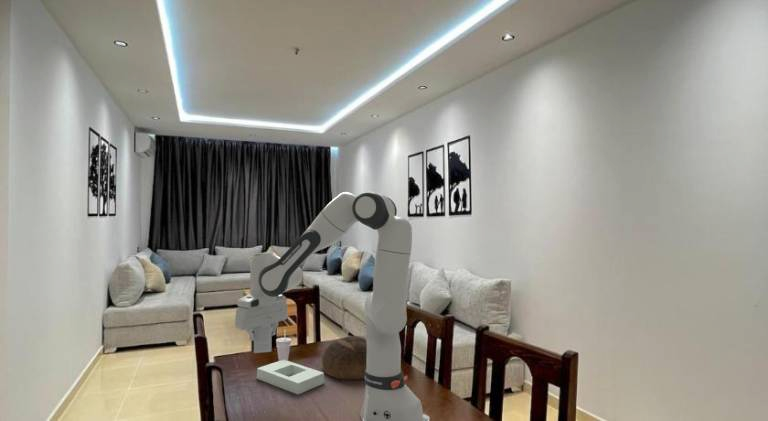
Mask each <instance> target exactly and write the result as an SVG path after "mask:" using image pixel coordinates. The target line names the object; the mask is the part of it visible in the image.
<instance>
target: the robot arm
mask: <svg viewBox="0 0 768 421" xmlns="http://www.w3.org/2000/svg"><path fill="white" fill-rule="evenodd" d="M397 212H398V210H397V206H396V203H395V202H394V201H393V200H392V199H391V198H389V197H387V196H386V195H385V194H382V193H379V192H376V191H373V190H371V191H370V190H369V191H368V190H367V191H364V192H362V193H360V194H358V195H355V194H353V193H351V192H348V191H344V192H343V191H342V192H341V193H339V194H338V195H337V196H335V197H334V198H333V199H332V200H331V201H329V203H328V204H326V205H325V207H324V208H323V209H322V210H321V211H320V212H319V214H318V215H317V216H316V217H315V219H314V220H313V221H312V223H311V224H310V225H309V226H308V227H307V228H306V230H305V231H304V232H303V233H302V234H301V236H300V237H298V239H297V241H295V242H294V243H293V245H291V246H290V247H289V249H287V251H285V253H284V254H283V255H281V257H280V256H278V255H277V253H275V252H274V251H266V252H260V253H256V254H254V255H253V256H252V258H251V262H250V270H249V271H250V272H249V276H250V277H249V278H250V282H251V283H250V289H249V293H247V294H246V295H244V296H242V297H240V298H239V299H237V300H236V305H237V309H236V311H235V320H234V322H235V324H234V325H235V328H236V329H237V330H239V331H246V333H247V334H248V337H249V341H251V342H254V340H256V335H254V328H255V327H259V326H263V325H264V318H267V317H271V318H272V321H271V325H272V336H275V335H276V333H277V332H276V330H277V328H278V326H279V322H283V321H286V320H287V319H288V316H289V313H288V304H287V297H286V296H285V295H284V293H285V292H288V291H291V290H293V289H295V288H296V287H298V286H299V285H300V284H301V283H302V281H303V278H304V273H303V268H301V265H302V264H304V262H305V261H307V259H308V258H309V257H310V256H312V255H313V254H315V253H317V252H318V251H321V250H324V249H326V248H327V247H328V248H329V247H330V246H333V245H334V244H335V243H337V242H338V241H339V240H341V239H342V238H343V237H344V235H346V233H347V232H348V231H349V230H350V229H351V228H352V226H354V224H356V223H358V222H360V223H361V224H363V225H364V226H366V227H369V228H370V229H371V230H374V231H377V233H378V234H377V235H378V239H377V246H376V253H375V259H374V266H373V270H372V274H373V275H372V276H373V278H372V280H373V283H372V285H373V286H372V292H370V293H369V294H368V295H367V297H366V299H365V302H364V322H365V325H364V326H365V338H366V343H367V359H366V370H365V379H364V383H365V388H364V395H363V402H362V407H361V411H360V413H359V416H360V418H361V420H362V421H430V419H431V418H430V416H429V415H428V414H426V413H424V412H423V405H422V402H421V400H420V398H418V396H416V394H415V393H414V392H413V391H412V390H411V389H410V388H409V387H408V386H407V385H406V381H407V380H408V375H405V376H404V374H403V371H402V370H401V366H402V365H401V360H402V357H401V356H402V355H401V354H402V345H401V340H400V339H401V338H400V332H401V331H403V329H404V328H405V326H406V324H407V321H408V316H407V314H408V313H407V306H408V305H407V302H408V300H407V299H408V294H407V293H408V285H407V284H408V275H409V267H410V261H411V254H412V253H411V252H412V246H413V227H412V224H411V223H410V221H409V220H408V219H406V218H404V217H401V216H397Z"/></svg>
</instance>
